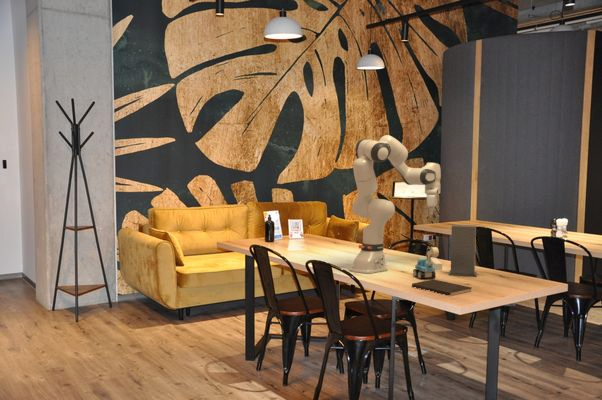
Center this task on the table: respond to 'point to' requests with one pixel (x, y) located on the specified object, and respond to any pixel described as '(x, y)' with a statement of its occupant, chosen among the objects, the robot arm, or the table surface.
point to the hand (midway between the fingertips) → (432, 214)
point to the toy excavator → (426, 265)
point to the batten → (436, 264)
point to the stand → (463, 250)
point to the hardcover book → (442, 287)
